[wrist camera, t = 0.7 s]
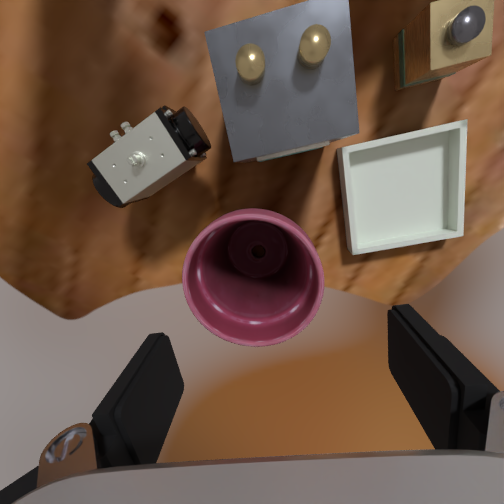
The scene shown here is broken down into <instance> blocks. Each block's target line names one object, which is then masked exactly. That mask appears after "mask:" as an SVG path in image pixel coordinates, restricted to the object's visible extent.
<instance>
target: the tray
mask: <svg viewBox="0 0 504 504" xmlns="http://www.w3.org/2000/svg"><path fill="white" fill-rule="evenodd" d="M466 145H467V119H466V120H461V121H457V122H452V123H448V124H444V125H439V126H435V127H430V128H426V129H422V130H417V131H413V132H408V133H404V134H400V135H395V136H391V137H386V138H382V139H378V140H373V141H369V142H364V143H360V144H356V145H351V146H347V147H342V148H338V149H337V157H338V166H339V175H340V185H341V194H342V203H343V213H344V222H345V231H346V240H347V249H348V250H349V251H350V253H351V254H352V255H357V254H362V253H368V252H374V251H380V250H385V249H391V248H397V247H403V246H408V245H414V244H420V243H426V242H431V241H437V240H443V239H448V238H454V237H460V236H463V228H464V200H465V173H466Z"/></svg>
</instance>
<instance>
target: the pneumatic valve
mask: <svg viewBox="0 0 504 504" xmlns="http://www.w3.org/2000/svg"><path fill="white" fill-rule="evenodd" d="M121 128H122V129H123V130H124V132H125V135H124V136H122V137H121V136H120V135H119V133H118V131H117V130H114V131H112V132H111V133H110V136H111V137H112V138H113V140H114V142H115V143H113V144H112V145H111V146H109V147H108V148H107V149H105V150H104V151H103V152H102V153H100V154H99V155H98V156H96V157H95V158H94V159H92V160H91V161H90V162H89V163H87V165H88V166H89V168H90V169H91V170H92V172H93V173H94V174H93V177H92V180H93V184H94V186H95V188H96V190H97V191H98V193H99V194H100V195H101V196H102V197H103V198H104V199H105V200H106V201H107V202H109V203H110V204H112V205H114V206H116V207H119V208H124V207H126V206H127V205H129V204H131V203H134V202H137V201H141V200H144V199H147V198H149V197H150V196H152V195H153V194H154V193H156V192H157V191H159V190H160V189H162V188H163V187H165V186H166V185H168V184H169V183H171V182H172V181H174V180H175V179H177V178H178V177H180V176H181V175H183V174H184V173H185V172H187V171H188V170H190V169H191V168H193V167H194V166H196V165H197V164H199V163H200V162H202V161H203V160H205V159H206V158H207V157H206V153H205V152H206V151H208V150H209V149H211V144H210V141H209V139H208V137H207V135H206V134H205V132H204V130H203V129H202V127H201V125H200V124H199V122H198V121H197V120H196V118H195V117H194V115H193V114H192V113H191V112H190V111H189V110H188V109H187V108H186V107H182V108H181V109H179V110H178V111H177V112H176V111H174V110H172V109H170V108H169V107H167V106H163V107H162V108H159V109H158V110H156V111H155V112H154V113H152V114H151V115H150V116H149V117H147V118H146V119H145V120H143V121H142V122H141V123H139V124H138V125H137V126H135V127H134V128H132V127H130V124H129V122H124V123H122V124H121Z"/></svg>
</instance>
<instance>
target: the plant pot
mask: <svg viewBox="0 0 504 504" xmlns="http://www.w3.org/2000/svg"><path fill="white" fill-rule="evenodd" d="M257 245H260V246H262V247H263V248H264V249H265V254H264V255H263V256H262V257H256V256H254V255H253V254H252V249H253V247H255V246H257ZM182 283H183V290H184V294H185V298H186V300H187V303H188V305H189V307H190V309H191V311H192V312H193V314H194V316H195V317H196V318H197V320H198V321H199V322H200V323H201V324H202V325H203V326H204V327H205V328H206V329H207V330H209V331H210V332H211V333H213V334H215V335H216V336H218V337H220V338H222V339H224V340H226V341H229V342H231V343H235V344H238V345H244V346H254V347H255V346H256V347H260V346H269V345H275V344H278V343H281V342H284V341H286V340H288V339H290V338H292V337H294V336H295V335H297V334H298V333H300V332H301V331H302V330H303V329H304V328H305V327H306V326H307V325H308V324H309V323H310V322H311V321H312V319H313V318H314V316H315V315H316V313H317V311H318V309H319V307H320V304H321V301H322V297H323V292H324V273H323V268H322V264H321V261H320V258H319V256H318V253H317V251H316V249H315V247H314V245H313V243H312V241H311V240H310V238H309V237H308V235H307V234H306V233H305V232H304V231H303V229H302V228H300V227H299V226H298V225H297V224H296V223H295V222H293V221H292V220H290V219H289V218H287V217H285V216H283V215H281V214H279V213H276V212H273V211H269V210H265V209H255V208H250V209H241V210H236V211H232V212H229V213H227V214H225V215H223V216H221V217H219V218H217V219H216V220H214V221H213V222H212V223H210V224H209V225H208V226H207V227H206V228H205V229H204V230H203V231H202V232H201V233H200V234H199V235H198V236H197V237H196V238H195V240H194V241H193V243H192V244H191V246H190V248H189V250H188V252H187V255H186V257H185V261H184V265H183V272H182Z"/></svg>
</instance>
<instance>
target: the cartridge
mask: <svg viewBox="0 0 504 504" xmlns="http://www.w3.org/2000/svg"><path fill="white" fill-rule="evenodd" d="M493 13H494V0H439V1H435V2H432V3H430V4H429V5H428V6H427V7H426V8H425V9H424V10H423V11H422V12H421V13H420V14H419V15H418V16H417V17H416V18H415V19H414V20H413V21H412V22H411V23H410V24H409V25H408V26H407V27H406V28H405V29H403V30H402V31H401V32H400V33H399V34H398V36H397V37H396V38H395V39H394V40H393V48H394V73H395V91H397V90H401V89H405V88H409V87H413V86H417V85H421V84H425V83H429V82H433V81H437V80H441V79H443V78H445V77H448V76H451V75H453V74H455V73H456V72H458V71H460V70H462V69H464V68H466V67H468V66H470V65H472V64H474V63H476V62H478V61H480V60H482V59H484V58H486V57H488V56H490V55H491V48H492V30H493Z"/></svg>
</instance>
